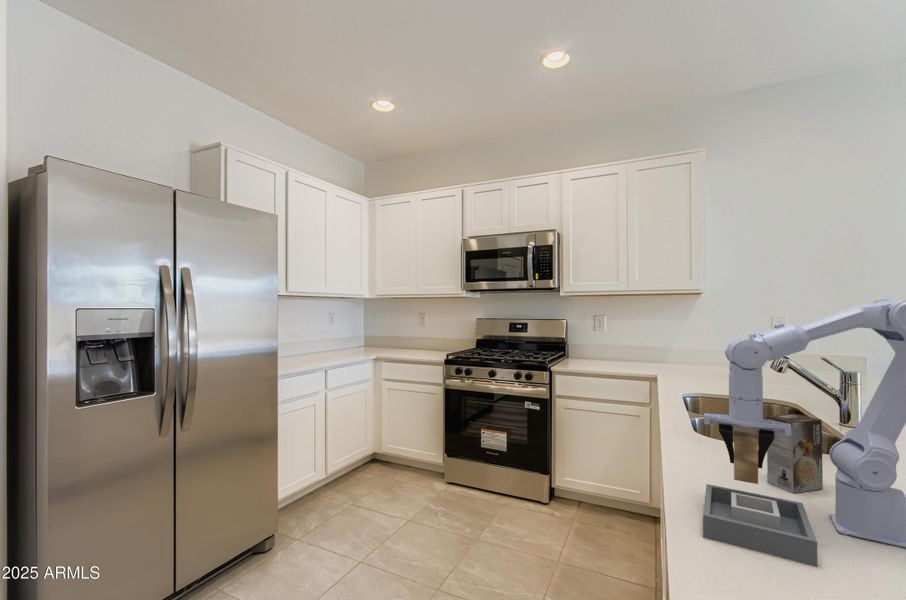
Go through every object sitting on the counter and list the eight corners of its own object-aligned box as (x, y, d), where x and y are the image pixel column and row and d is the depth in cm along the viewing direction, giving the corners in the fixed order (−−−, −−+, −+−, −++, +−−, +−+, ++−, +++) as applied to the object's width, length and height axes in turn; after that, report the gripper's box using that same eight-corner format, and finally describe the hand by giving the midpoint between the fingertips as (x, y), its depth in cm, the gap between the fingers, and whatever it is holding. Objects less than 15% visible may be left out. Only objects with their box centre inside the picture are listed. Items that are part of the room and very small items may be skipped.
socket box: (802, 523, 82) (802, 497, 82) (817, 566, 69) (817, 535, 69) (706, 502, 91) (706, 479, 91) (703, 537, 78) (703, 509, 78)
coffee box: (794, 478, 104) (794, 412, 104) (823, 489, 97) (823, 419, 98) (766, 482, 101) (765, 415, 101) (793, 494, 95) (793, 422, 95)
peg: (757, 477, 87) (757, 433, 87) (758, 484, 84) (757, 438, 84) (734, 473, 90) (733, 430, 90) (734, 479, 86) (733, 435, 86)
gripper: (788, 398, 86) (788, 465, 86) (705, 390, 94) (705, 451, 94) (792, 405, 80) (792, 477, 80) (703, 396, 88) (703, 461, 88)
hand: (745, 464), depth 87 cm, fingers closed on peg, 4 cm apart
